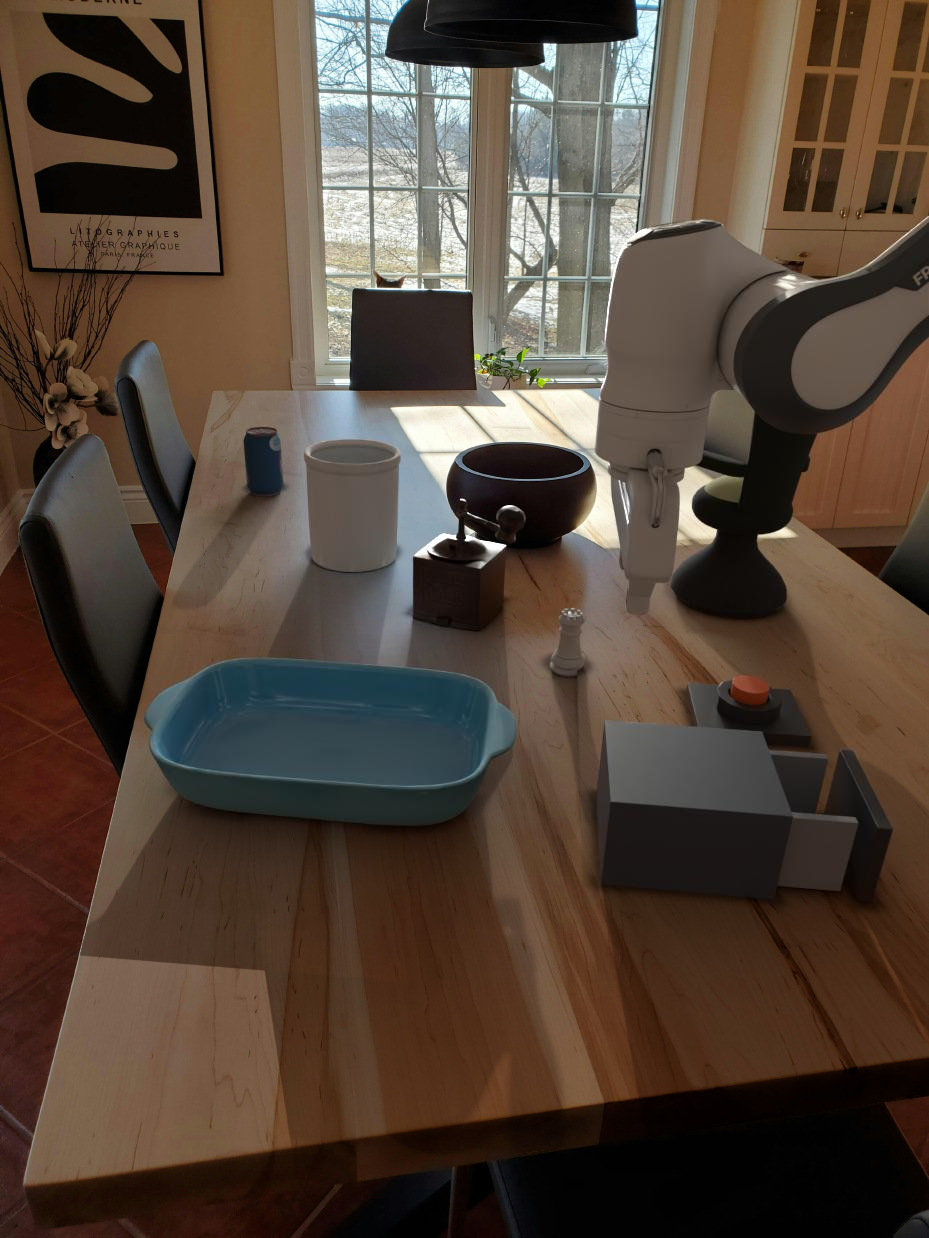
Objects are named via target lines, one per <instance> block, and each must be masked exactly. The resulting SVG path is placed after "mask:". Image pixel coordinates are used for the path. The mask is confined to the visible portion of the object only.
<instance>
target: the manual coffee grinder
mask: <svg viewBox="0 0 929 1238" xmlns="http://www.w3.org/2000/svg"><path fill="white" fill-rule="evenodd" d="M457 506H458V508H457V510H456V511H455V512H456V515H457V516H458V526H457V527H458V528H457V533H456V534H454V535H453V534H448V533H447V534H446V533H441V534H440V535H437V537H435V538H434V539H433V540H432V541H430V542H429V543H427V544H426V545H425V546H424V547H422V548H421V549H420V550H418V552H416V553H415V554H414V555H413V556H412V619H413V620H417V621H422V622H425V623H431V624H434V625H438V626H443V627H448V628H449V627H450V628H457V629H462V630H463V629H464V630H473V631H481V630H482V629H484V628H485V627H486V626H488V625H489V624H490V622H491V621H492V620H494V618H495V617H496V616H497V615H498V614H499V613H500V611H501V609H502V606H503V605H504V603H505V578H506V577H505V576H506V560H507V559H506V558H507V545H511V544H515V543H516V540H517V537H516V534H517V532H518V531H520V530H521V529H522V528H524V527H525V523H526V519H527V518H526V514H525V512H524V511H523V510H522V509H520V508H519V507H517V506H515V505H505V506H503V507H500V509H499V510H498V511H497V513H496V521H497V523H498V524H496V523H493V522H492V521H488V520H486V519H483V518H481V517H479V516H475V515H473V514H471V513H469V512H468V509H467V507H468V502H467V500H466V499H464V498H460V499H459V500H458V501H457ZM466 520H468V521H469V522H471V523H473V524H476V525H478V526H482V527H484V528H487V529H489V530H492V531H494V532H495V535H494V536H495V540H498V542H500V543H497V542H492V541H486V540H480V539H478V538H476V537H473V536H471V535H468V534H466V531H465V530H466V528H465V527H466ZM506 544H507V545H506Z"/></svg>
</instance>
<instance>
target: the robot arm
mask: <svg viewBox="0 0 929 1238" xmlns="http://www.w3.org/2000/svg"><path fill="white" fill-rule="evenodd" d="M928 339H929V215H928V216H926V217H925V218H924V219H923V220H921V221H920V222H919V223H918V224H917V225H916V226H914V227H913V228H912V229H911V230H910V231H908V232H907V233H906V234H904V235H903V236H901V238H899V239H898V240H896V242H894V243H893V244H892V245H890V246H889V247H888V248H887V249H886V250H884V251H883V252H882V253H881V254H880V255H878V256H877V257H876V258H875V259H873V260H872V261H871V262H869V263H868V264H866V265H865V266H863V267H861V268H859V269H857V270H855V271H853V272H850V273H847V274H843V275H840V276H835V277H831V278H825V279H817V278H814V277H811V276H809V275H807V274H803V273H800V272H797V271H795V270H793V269H790V268H788V267H786V266H783V265H782V264H780V263H777V262H775V261H773V260H771V259H769V258H767V257H765V256H764V255H762V254H760V253H758V252H756V251H755V250H753V249H752V248H750V247H749V246H747V245H746V244H744V243H743V242H742V241H740V240H739V239H738V238H737V237H735V236H734V235H733V234H731V233H730V232H729V231H728V229H727V228H726V226H725V225H724V224H723V223H722V222H719V221H716V220H713V219H694V220H679V221H673V222H667V223H662V224H657V225H652V226H650V227H646V228H643V229H641V230H639V231H637V232H636V233H634V234H633V235H631V236H630V238H629V239H628V240H627V241H626V242H625V243H624V244H623V246H622V247H621V250H620V252H619V254H618V257H617V260H616V263H615V267H614V271H613V276H612V281H611V287H610V292H609V299H608V305H607V313H606V321H605V332H604V347H605V353H606V359H607V361H606V364H607V365H606V371H605V375H604V376H605V377H604V380H603V382H602V385H601V387H600V390H599V398H598V408H597V409H598V410H597V411H598V412H597V420H596V421H597V422H596V431H595V441H594V442H595V444H594V454H595V455H596V456H597V457H599V458H600V459H601V460H603V461H605V462H607V463H608V466H607V473H608V474H609V476H610V493H611V494H610V495H611V502H612V506H613V514H614V519H615V524H616V529H617V530H616V531H617V536H618V543H619V556H618V563H619V567H620V569H621V570H622V571H624V576H625V579H626V580H627V581H628V585H627V586H628V587H627V588H626V589H627V591H626V598H625V607H626V612H627V613H628V614H630V615H634V616H636V615H637V616H645V615H647V614H648V613H649V609H650V604H651V596H652V594H653V592H654V589H655V586H656V584H666V583H669V582H670V581H671V579H672V576H673V573H674V570H675V561H676V552H677V543H678V532H679V521H680V511H681V509H680V508H681V507H680V505H681V492H680V487H679V485H678V483H680V482H682V481H683V479H684V478H685V474H686V473H685V472H686V469H688V468H692V467H694V466H695V467H696V465H697V464H698V463H700V462H701V460H702V456H703V450H705V448H704V447H705V443H706V433H707V429H708V422H709V415H710V406H711V399H712V396H713V395H714V394H715V393H716V392H718V391H735V392H736V393H737V394H739V395H740V396H742V397H743V398H744V399H745V401H746V402H747V403H748V405H749V406H750V407H751V409H752V410H753V411H754V413H755V412H756V413H757V415H758V416H759V417H760V418H762V419H763V420H764V421H765V422H767V423H768V424H770V425H771V426H773V427H775V428H777V429H780V430H782V431H786V432H789V433H795V434H816V433H817V434H821V433H825V432H829V431H833V430H835V429H838V428H841V427H842V426H845V425H847V424H849V423H850V422H852V421H853V420H855V419H856V418H858V417H860V416H861V415H862V414H863V413H865V411H866V410H868V409H869V408H870V407H871V405H873V404H874V403H875V401H877V399H878V398H879V397H880V396H881V395H882V394H883V392H884V391H885V389H886V388H887V387H888V385H889V384H890V383H891V382H892V380H893V379H894V377H895V376H896V375H897V373H898V372H899V371H900V370H901V368H902V367H903V365H904V364H905V363H906V362H907V360H908V359H909V358H910V357H911V356H912V354H914V352H915V351H916V350H918V348H919V347H920V346H921V345H923V343H924V342H925V341H926V340H928Z"/></svg>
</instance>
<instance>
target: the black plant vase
mask: <svg viewBox="0 0 929 1238" xmlns="http://www.w3.org/2000/svg"><path fill="white" fill-rule="evenodd" d="M751 429H752V430H751V436H750V443H749V450H748V455H747V461H746V462H744V461H740V460H737V459H734V458H732V457H728V456H725V455H722V454H718V453H715V452H712V451H709V450H705V449H703V456H702V460H701V462H700V463H698V464H697V465H695V467H699V468H702V469H706V470H708V471H711V472H714V473H717V474H720V475H722V476H719V477H717V478H715V479H712V480H711V481H709V482H708V483H707V484H705V485H703V486H701V487H700V488H699V489H697V490H696V492H695V493H694V494H693V496H692V499H691V510H692V512H693V515H694V516H695V518H696V519H697V520H698V521H700V522H701V523H702V524H703V525H705V526H707V527H709V528H712V529H714V530H716V533H715V537H714V538H713V540H712V542H711V543H709V544H708V545H707V546H705V547H704V548H702V549H700V550H698V551H696V552H695V553H693V554H691V555H690V556H688V557H687V558H686V559H685V560H684V561H682V562H681V563H680V564H679V566H677V567H676V568H675V569H674V570H673V573H672V576H671V578H670V581H669V585H670V588H671V590H672V592H673V593H674V595H675V596H676V598H677V599H678V600H680V601H682V602H683V604H685V605H686V606H689V607H691V608H693V609H695V610H697V611H699V612H702V613H707V614H710V615H713V616H718V617H726V618H731V619H752V618H761V617H765V616H768V615H770V614H774V613H776V612H777V611H778V610H779V609H780V608H781V607H783V606H784V605H785V604H786V603H787V601H788V600H787V599H788V589H787V585H786V582H785V581H784V578H783V576H782V575H781V573H780V572H779V570H778V569H777V568H776V567H775V565H774V564H773V563H771V561H770V560H769V559H768V558H767V557H766V556H765V555H764V554H763V552H762V551H761V550H760V548H759V545H758V537H759V535H760V536H761V535H768V534H769V535H770V534H773V533H776V532H779V531H781V530H783V529H784V528H785V527H787V526H788V524H790V522H791V520H792V518H793V515H794V505H793V501H794V499H795V495H796V493H797V490H798V486H799V483H800V479H801V476H802V473H806V472H808V470H809V468H810V463H811V457H810V453H811V451H812V448H813V446H814V443H815V441H816V439H817V436H818V433H816V434H795V433H789V432H786V431H782V430H780V429H777V428H775V427H773V426H771V425H770V424H768V423H767V422H765V421H764V420H763V419H762V418H760V417H759V416H758V415H757V413H756V412H755V411H754V414H753V421H752V428H751Z"/></svg>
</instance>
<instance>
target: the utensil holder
mask: <svg viewBox="0 0 929 1238" xmlns="http://www.w3.org/2000/svg"><path fill="white" fill-rule="evenodd" d="M303 459H304V462H305V467H306V490H307V491H306V494H307V511H308V512H307V513H308V531H309V543H310V555H311V559H312V561H313V562H314V563H315V564H317V565H318V566H319V567H321V568H324V569H327V570H331V571H335V572H342V573H362V572H370V571H371V572H372V571H375V570H380V569H382V568H385V567H387V566H389V565H391V564H392V563H393V562H394V561H395V560H396V559H397V552H398V551H397V549H398V548H397V547H398V530H399V529H398V526H399V491H400V489H399V488H400V485H399V484H400V463H401V462H402V461H401V459H402V454H401V451H400V449H399V448H398V447H396V446H395V445H393V444H390V443H387V442H384V441H380V440H374V439H365V438H363V439H362V438H341V439H339V438H338V439H328V440H324V441H319V442H315V443H313V444H310V445H308V446H306V447H305V449H304V450H303Z"/></svg>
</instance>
